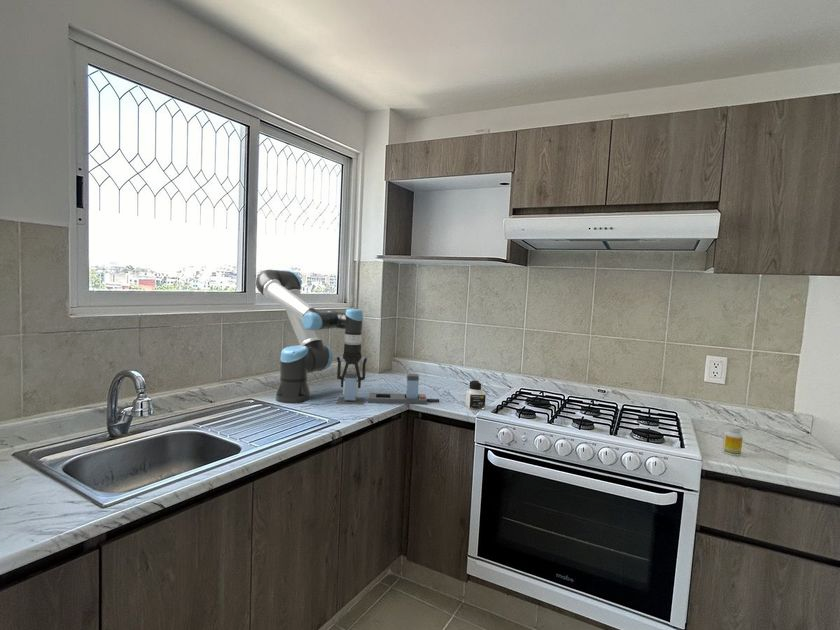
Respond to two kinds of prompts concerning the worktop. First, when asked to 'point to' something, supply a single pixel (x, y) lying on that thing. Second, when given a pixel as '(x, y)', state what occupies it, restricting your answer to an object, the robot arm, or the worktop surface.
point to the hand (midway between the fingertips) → (350, 394)
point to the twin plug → (412, 386)
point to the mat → (351, 401)
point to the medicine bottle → (475, 395)
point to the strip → (398, 399)
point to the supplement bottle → (732, 441)
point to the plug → (350, 385)
